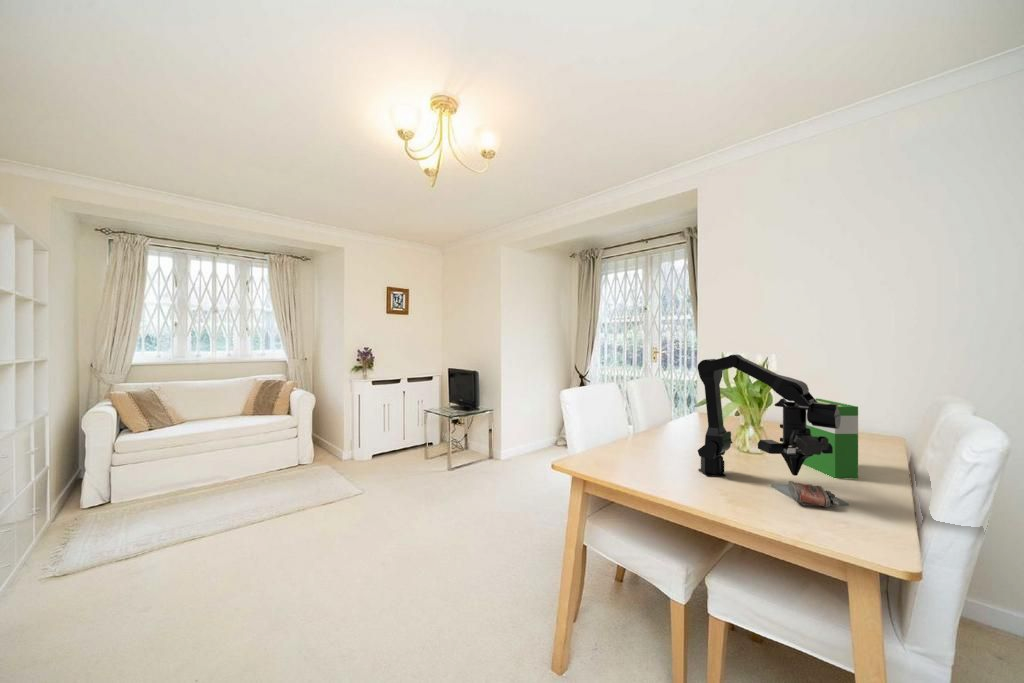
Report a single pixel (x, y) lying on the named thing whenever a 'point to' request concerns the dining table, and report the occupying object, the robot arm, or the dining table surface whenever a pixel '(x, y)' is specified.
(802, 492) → the lighter
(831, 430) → the hardback book
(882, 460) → the dining table surface
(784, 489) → the mat
